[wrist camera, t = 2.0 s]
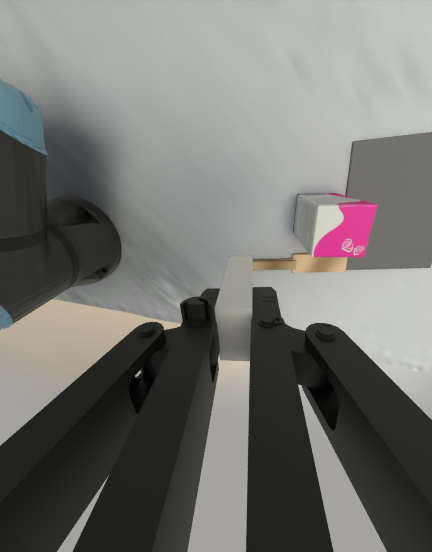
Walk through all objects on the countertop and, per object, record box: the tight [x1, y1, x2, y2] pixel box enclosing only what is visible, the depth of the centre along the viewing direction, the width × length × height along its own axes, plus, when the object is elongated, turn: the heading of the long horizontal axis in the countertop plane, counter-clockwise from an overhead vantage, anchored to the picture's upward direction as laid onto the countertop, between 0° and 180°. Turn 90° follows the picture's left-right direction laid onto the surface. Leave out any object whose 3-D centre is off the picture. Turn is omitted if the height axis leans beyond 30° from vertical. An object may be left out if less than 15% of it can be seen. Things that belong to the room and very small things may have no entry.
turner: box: [252, 253, 347, 273], centre depth 36 cm, size 16×3×1 cm, turn 95°
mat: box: [346, 132, 432, 270], centre depth 32 cm, size 13×18×1 cm
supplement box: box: [293, 193, 378, 257], centre depth 28 cm, size 6×6×12 cm
